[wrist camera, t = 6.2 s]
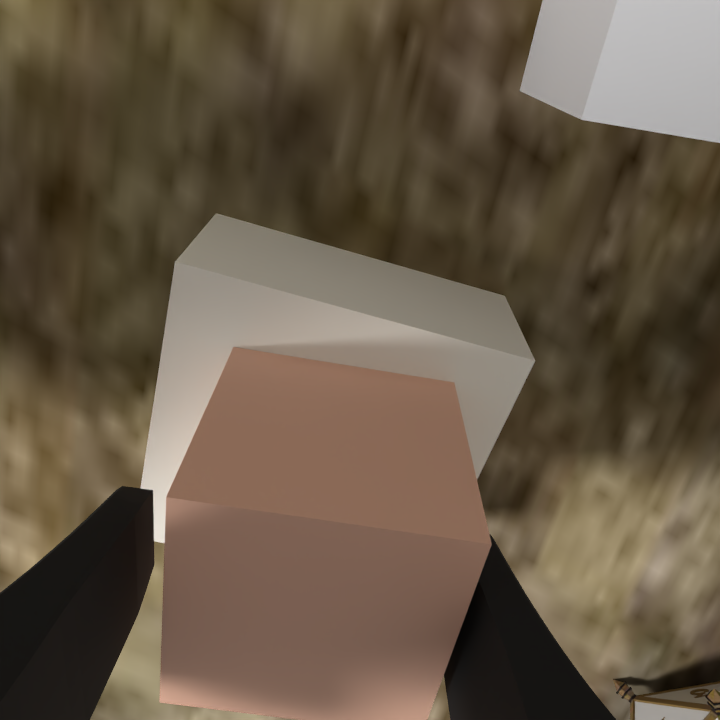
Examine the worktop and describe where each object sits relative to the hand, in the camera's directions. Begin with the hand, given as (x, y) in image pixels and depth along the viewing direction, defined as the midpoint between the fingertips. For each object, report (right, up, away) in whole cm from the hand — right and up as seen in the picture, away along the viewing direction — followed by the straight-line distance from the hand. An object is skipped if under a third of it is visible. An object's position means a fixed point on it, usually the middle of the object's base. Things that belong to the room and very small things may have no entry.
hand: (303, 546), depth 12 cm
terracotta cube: (0, +2, +2) cm, 3 cm away
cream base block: (0, +3, +6) cm, 7 cm away
